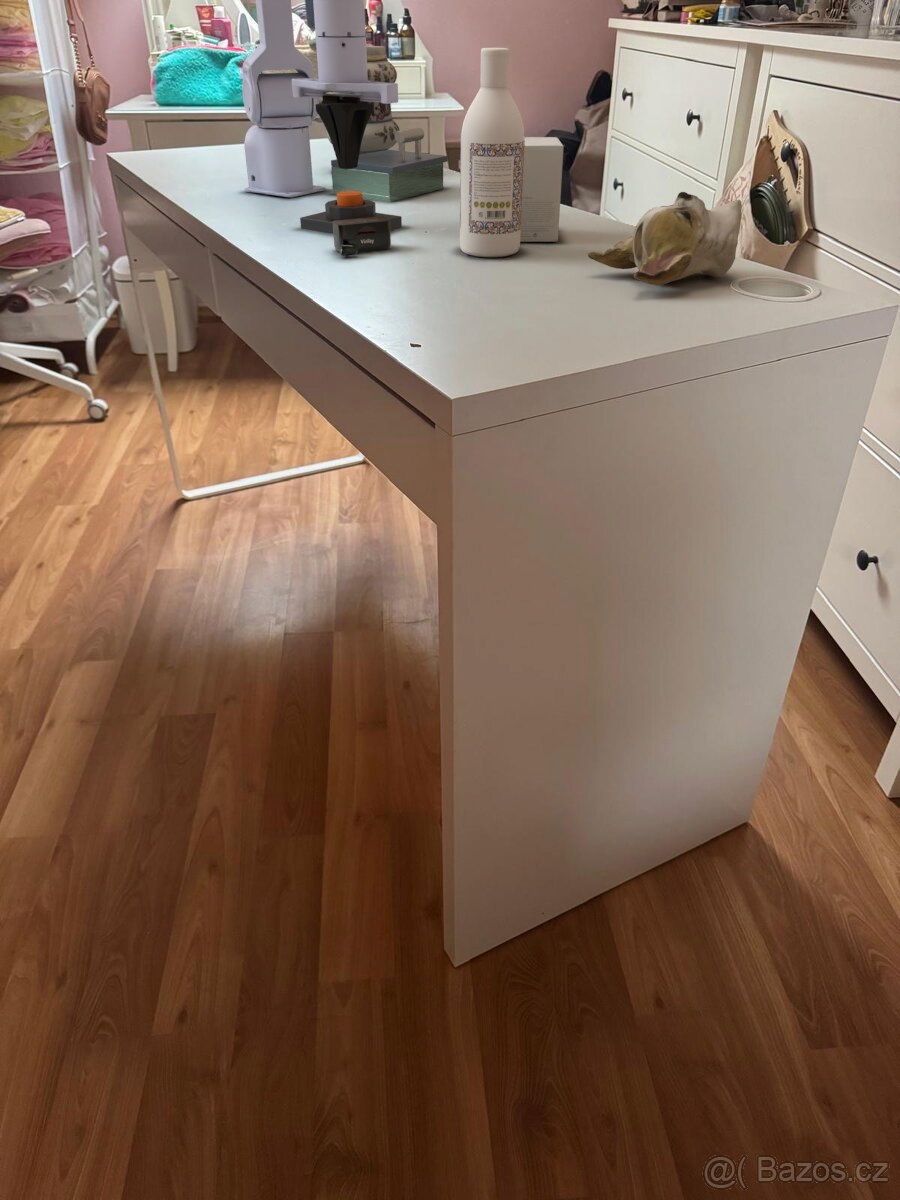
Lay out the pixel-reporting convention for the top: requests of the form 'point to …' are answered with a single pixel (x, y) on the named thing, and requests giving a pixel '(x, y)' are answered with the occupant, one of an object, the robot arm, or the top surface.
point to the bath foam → (492, 164)
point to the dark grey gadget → (361, 235)
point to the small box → (541, 189)
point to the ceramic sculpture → (679, 241)
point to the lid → (398, 156)
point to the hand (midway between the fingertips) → (348, 167)
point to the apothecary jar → (378, 104)
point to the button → (349, 198)
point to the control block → (344, 216)
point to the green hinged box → (388, 182)
